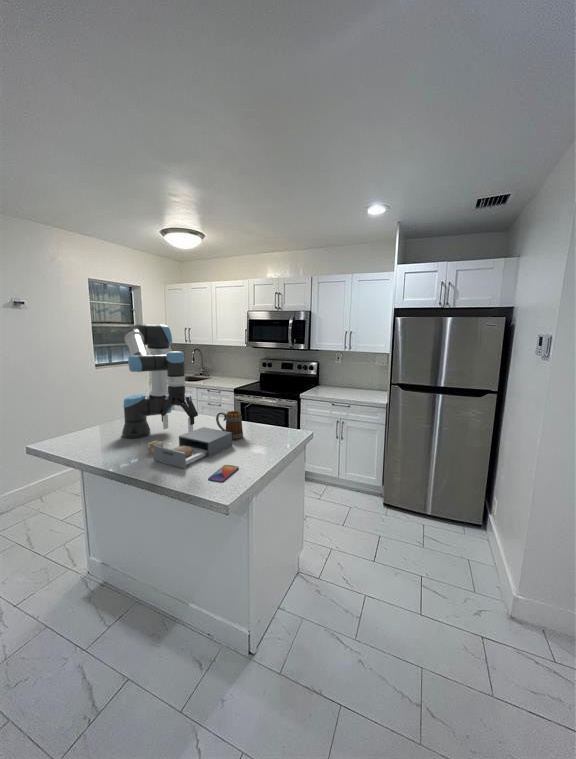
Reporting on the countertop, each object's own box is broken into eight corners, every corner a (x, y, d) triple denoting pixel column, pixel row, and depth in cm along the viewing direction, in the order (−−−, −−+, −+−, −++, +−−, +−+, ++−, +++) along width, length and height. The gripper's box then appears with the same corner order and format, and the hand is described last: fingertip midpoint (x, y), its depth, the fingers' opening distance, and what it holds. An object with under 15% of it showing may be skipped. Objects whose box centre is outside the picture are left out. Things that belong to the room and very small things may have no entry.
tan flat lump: (167, 457, 151) (167, 450, 150) (182, 451, 159) (181, 445, 158) (181, 460, 147) (181, 454, 146) (195, 454, 154) (195, 448, 154)
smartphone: (206, 481, 131) (206, 479, 131) (225, 466, 145) (225, 464, 145) (222, 484, 129) (222, 481, 129) (239, 468, 143) (239, 466, 143)
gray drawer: (183, 468, 141) (183, 453, 140) (152, 460, 150) (152, 446, 149) (210, 455, 156) (209, 442, 155) (181, 448, 165) (180, 435, 164)
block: (148, 452, 160) (147, 443, 159) (156, 449, 164) (155, 440, 163) (155, 454, 157) (154, 445, 157) (163, 451, 162) (162, 442, 161)
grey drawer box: (209, 457, 155) (208, 442, 154) (179, 449, 164) (178, 435, 163) (232, 446, 171) (231, 432, 170) (203, 439, 180) (203, 427, 179)
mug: (245, 435, 189) (244, 410, 187) (240, 440, 179) (240, 415, 177) (219, 434, 191) (219, 409, 189) (213, 439, 181) (213, 414, 178)
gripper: (148, 384, 146) (150, 429, 149) (195, 388, 139) (197, 434, 142) (158, 382, 153) (160, 425, 156) (204, 385, 146) (206, 430, 149)
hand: (178, 430), depth 149 cm, fingers open, 13 cm apart
